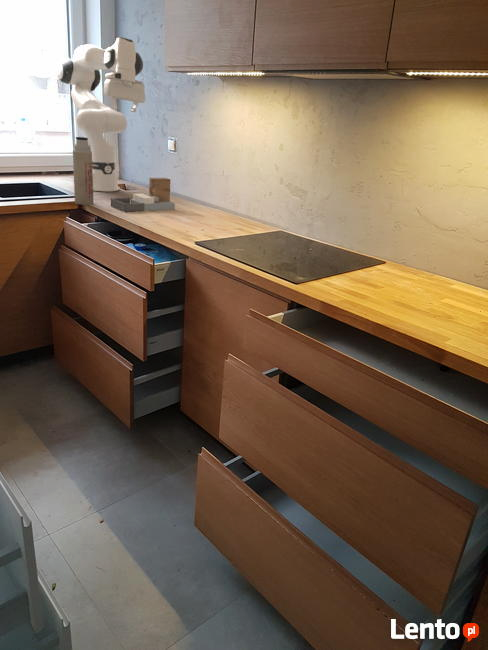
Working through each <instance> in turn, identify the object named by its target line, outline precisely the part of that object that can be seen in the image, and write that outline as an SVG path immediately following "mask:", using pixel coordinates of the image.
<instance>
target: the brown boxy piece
mask: <svg viewBox="0 0 488 650" xmlns="http://www.w3.org/2000/svg"><path fill="white" fill-rule="evenodd" d="M148 186H149V189H148V190H149V192H148V193H146V192H145V193H143V194H145V195H148V196H151V197H154V203H157V204H158V203H159V202H169V201H171V178H168V177H167V178H166V177H149V185H148Z"/></svg>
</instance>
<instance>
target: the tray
mask: <svg viewBox="0 0 488 650" xmlns="http://www.w3.org/2000/svg"><path fill="white" fill-rule="evenodd" d="M110 207H111V208H113V209H114V208H115V209H116V210H119V211H121V212H124V213H133V212H135V211H139V212H145V211H144V203H132V204H131V197H115V198H114V197H113V198H110ZM135 213H136V212H135Z"/></svg>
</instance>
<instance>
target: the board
mask: <svg viewBox="0 0 488 650" xmlns="http://www.w3.org/2000/svg"><path fill="white" fill-rule="evenodd" d="M132 203H141V202H139V201H136V200H133V198H130V204H132ZM175 204H176V203H175V202H173V201H171V200H170V201H169V202H159V203H158V204H157V203H150V204H144V211H143V212H147V211H146V210H152V211H167V210H168V211H169V210H171V211H172V210H175V208H176V207H175V206H176V205H175Z"/></svg>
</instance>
